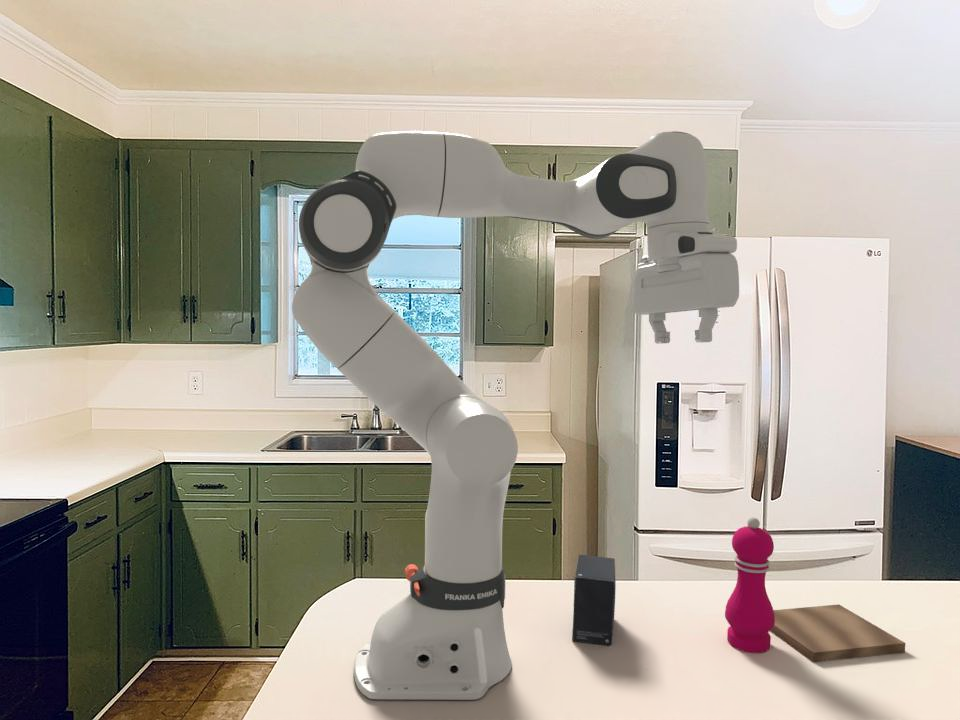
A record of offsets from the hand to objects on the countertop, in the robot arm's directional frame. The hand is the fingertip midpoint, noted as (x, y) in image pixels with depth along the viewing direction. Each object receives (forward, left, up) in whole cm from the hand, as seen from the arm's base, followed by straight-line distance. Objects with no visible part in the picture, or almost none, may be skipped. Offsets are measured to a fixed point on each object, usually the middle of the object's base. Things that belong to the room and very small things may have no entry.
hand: (682, 343), depth 99 cm
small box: (-9, +10, -47) cm, 49 cm away
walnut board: (+27, +1, -47) cm, 54 cm away
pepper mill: (+13, +1, -47) cm, 49 cm away
